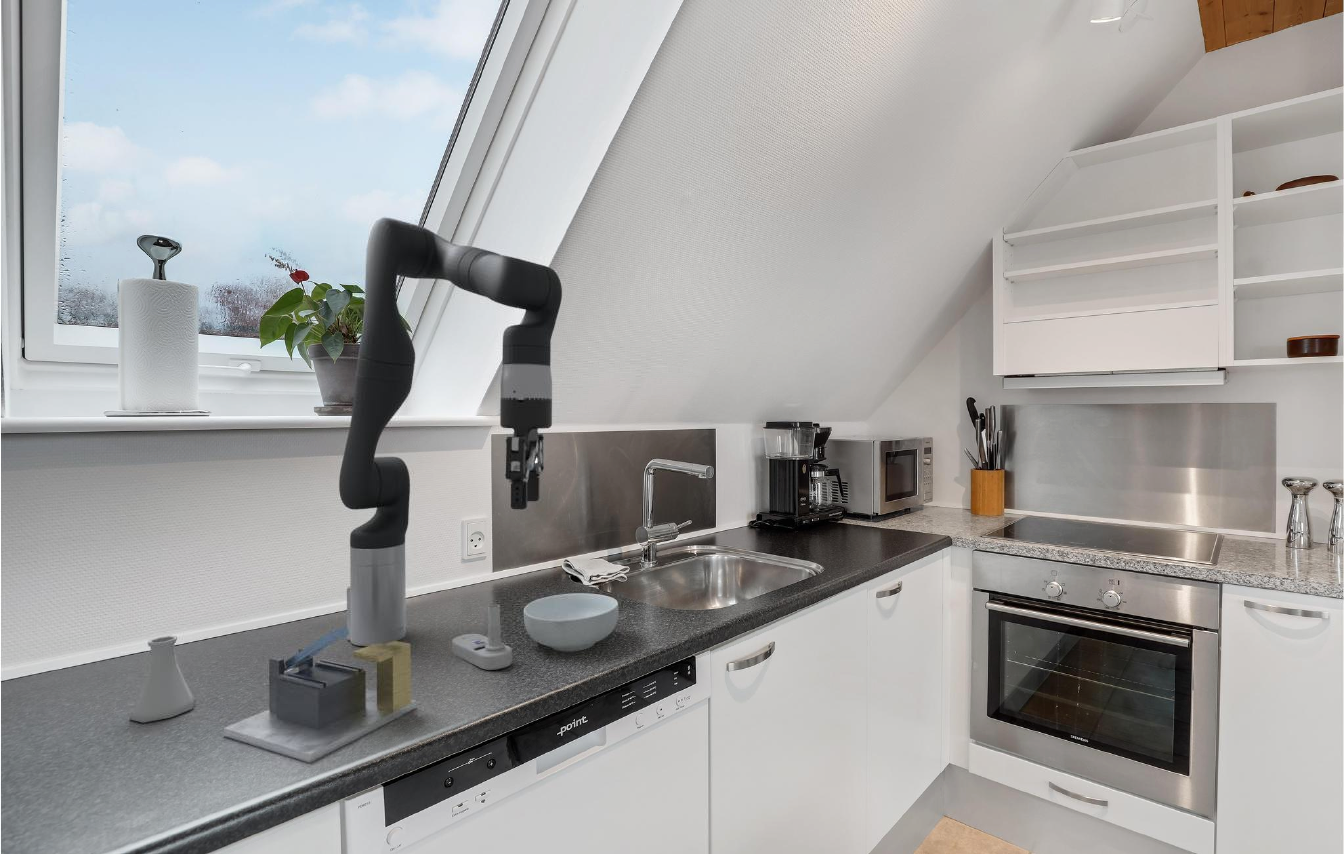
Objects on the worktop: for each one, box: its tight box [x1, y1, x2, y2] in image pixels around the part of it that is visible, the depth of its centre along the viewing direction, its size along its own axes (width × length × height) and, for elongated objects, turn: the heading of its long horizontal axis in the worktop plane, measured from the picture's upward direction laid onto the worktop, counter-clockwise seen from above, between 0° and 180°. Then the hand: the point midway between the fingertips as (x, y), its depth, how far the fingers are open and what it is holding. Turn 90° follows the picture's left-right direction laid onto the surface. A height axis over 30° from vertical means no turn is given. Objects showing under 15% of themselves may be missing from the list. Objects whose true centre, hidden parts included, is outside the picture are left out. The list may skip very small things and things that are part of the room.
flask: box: [129, 634, 196, 723], centre depth 89 cm, size 7×7×10 cm
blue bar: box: [284, 626, 349, 673], centre depth 87 cm, size 12×3×1 cm
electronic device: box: [451, 604, 513, 671], centre depth 109 cm, size 5×10×15 cm
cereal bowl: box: [523, 592, 619, 652], centre depth 116 cm, size 17×17×7 cm
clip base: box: [223, 647, 417, 764], centre depth 86 cm, size 16×16×8 cm
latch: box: [353, 640, 412, 712], centre depth 87 cm, size 4×5×8 cm
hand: (525, 504), depth 97 cm, fingers open, 8 cm apart
